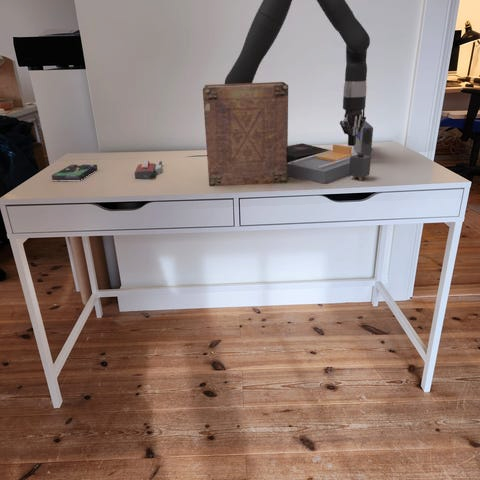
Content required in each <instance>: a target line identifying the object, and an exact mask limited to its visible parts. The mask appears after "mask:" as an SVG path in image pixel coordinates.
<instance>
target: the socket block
mask: <svg viewBox="0 0 480 480" xmlns="http://www.w3.org/2000/svg"><path fill="white" fill-rule="evenodd" d="M328 150H329V151H326V152H322V153H319V154H316V155H312V156H309V157H305V158H302V159H299V160H295V161H292V162H288V163H287V177H288V176H289V177H293V178H298V179H302V180H306V181H309V182H314V183H318V184H323V185H324V183H325V184H327V182H328V183H330V182H333V181H337V180H338V179H342V178H344V177H346V176H350V175H349V168H350V157H352V156H350V157H347V158H344V159H341V160H338V161H335V162H333V161H328V160H322V159H317V158H315V156H317V155H320V154H323V153H327V152H330V150H331V149H328ZM352 155H353V154H352ZM355 155H356V154H354V155H353V156H355Z"/></svg>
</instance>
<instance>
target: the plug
mask: <svg viewBox="0 0 480 480" xmlns="http://www.w3.org/2000/svg"><path fill="white" fill-rule="evenodd" d="M354 155H355V156H352V157H350V168H349V175H348V176H352V179H353V180H356V178H358V180H359V181H362V179H363V178H364V177H367V176H369V175H370V174H371V173H370V170H371V161H372V160H371V159H372V155H371V156H366V155H364V153H363V152H358V154H354Z"/></svg>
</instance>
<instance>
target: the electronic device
mask: <svg viewBox="0 0 480 480" xmlns="http://www.w3.org/2000/svg"><path fill="white" fill-rule="evenodd" d="M365 109H366V108H365ZM365 109H363V110H362V116H363V117H365V111H366V110H365ZM373 133H374V128H373V126H372V125H371V124H370V123H369V122H367V120H365V122H364V124H363V126H362V129H361V131H360V132H358V133H357V135H356V144H355V145H354V146H352V148H353V150H354V152H355V153H356V155H358V152H363V153H364V155H366V156H371V157H372V155H371V154H372V151H373V147H372V146H373V136H374V134H373Z"/></svg>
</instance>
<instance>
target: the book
mask: <svg viewBox="0 0 480 480" xmlns="http://www.w3.org/2000/svg"><path fill="white" fill-rule="evenodd" d="M202 97H203V98H202V99H203V110H204V111H203V114H204V128H205V143H206V144H205V145H206V156H207V159H206V160H207V173H208V186H210V187H221V186H222V187H223V186H224V187H225V186H240V185H241V186H245V185H247V186H248V185H264V184H269V185H271V184H286V183H287V182H288V175H287V148H288V146H289V145H288V143H289V142H288V140H289V137H288V136H289V135H288V134H289V130H288V129H289V128H288V127H289V84H287V83H286V82H284V81H276V82H275V81H273V82H272V81H271V82H270V81H269V82H252V83H242V84H225V83H222V84H221V83H219V84H218V83H217V84H216V83H214V84H205V85H204V87H203V88H202Z"/></svg>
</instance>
